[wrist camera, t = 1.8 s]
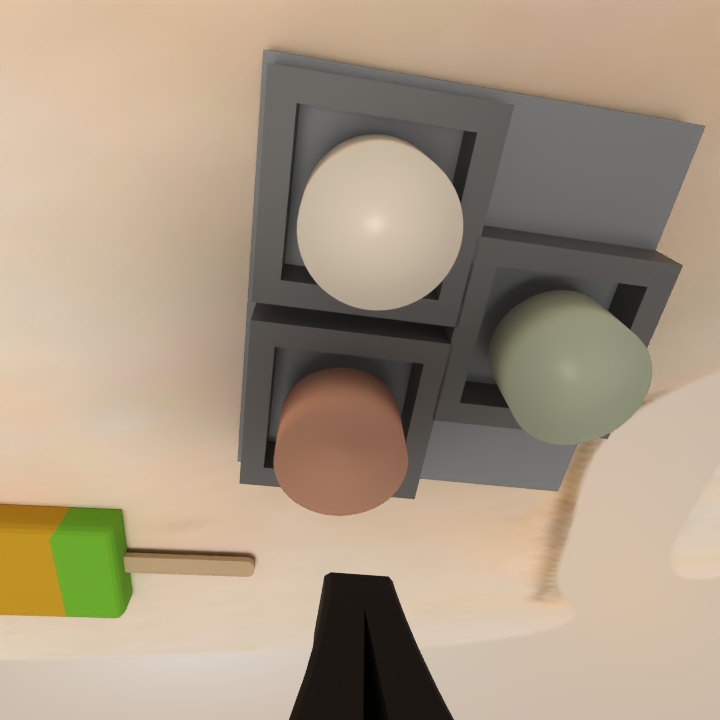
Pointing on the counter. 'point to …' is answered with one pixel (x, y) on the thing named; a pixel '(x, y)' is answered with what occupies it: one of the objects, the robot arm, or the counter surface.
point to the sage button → (568, 367)
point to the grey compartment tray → (474, 261)
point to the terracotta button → (340, 443)
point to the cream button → (378, 223)
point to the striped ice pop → (82, 562)
